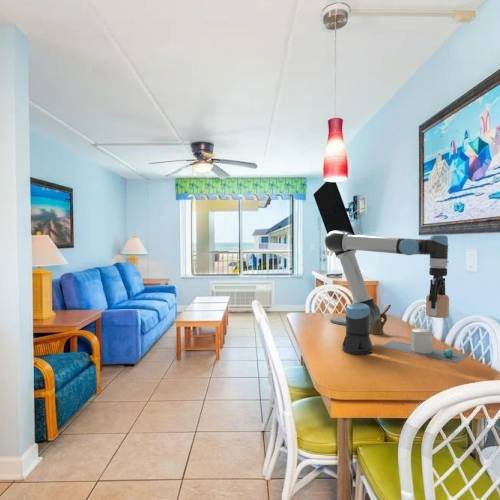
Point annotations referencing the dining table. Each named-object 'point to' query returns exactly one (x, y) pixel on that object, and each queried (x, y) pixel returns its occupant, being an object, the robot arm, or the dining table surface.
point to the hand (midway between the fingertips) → (437, 313)
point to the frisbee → (339, 320)
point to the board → (435, 354)
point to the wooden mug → (379, 323)
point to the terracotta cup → (439, 306)
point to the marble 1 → (447, 354)
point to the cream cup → (421, 340)
